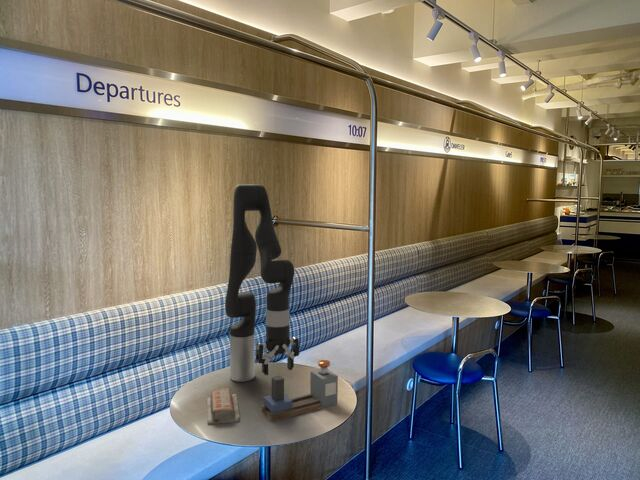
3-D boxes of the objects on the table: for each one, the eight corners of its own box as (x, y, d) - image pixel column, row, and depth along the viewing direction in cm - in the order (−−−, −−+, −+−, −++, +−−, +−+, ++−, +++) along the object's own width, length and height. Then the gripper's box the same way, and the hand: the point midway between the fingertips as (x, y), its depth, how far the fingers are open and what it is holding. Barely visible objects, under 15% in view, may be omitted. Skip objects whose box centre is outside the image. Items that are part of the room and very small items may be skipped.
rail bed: (261, 411, 155) (261, 404, 155) (309, 399, 165) (309, 392, 164) (271, 421, 149) (271, 414, 148) (320, 408, 158) (321, 401, 158)
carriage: (263, 403, 155) (263, 376, 154) (282, 399, 159) (282, 372, 157) (272, 412, 149) (272, 384, 148) (292, 407, 153) (292, 379, 151)
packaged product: (240, 408, 148) (207, 411, 146) (240, 422, 149) (207, 426, 146) (236, 384, 165) (207, 387, 163) (236, 397, 166) (207, 400, 164)
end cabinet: (310, 398, 165) (310, 371, 164) (324, 395, 168) (325, 367, 167) (322, 408, 158) (323, 379, 157) (337, 404, 161) (338, 376, 160)
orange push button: (315, 378, 163) (316, 361, 162) (325, 375, 165) (326, 359, 164) (321, 382, 159) (322, 365, 159) (332, 379, 161) (332, 362, 161)
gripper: (292, 317, 157) (292, 364, 159) (252, 323, 150) (252, 372, 152) (303, 322, 151) (303, 371, 153) (262, 328, 144) (262, 380, 145)
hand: (278, 371), depth 152 cm, fingers open, 8 cm apart
